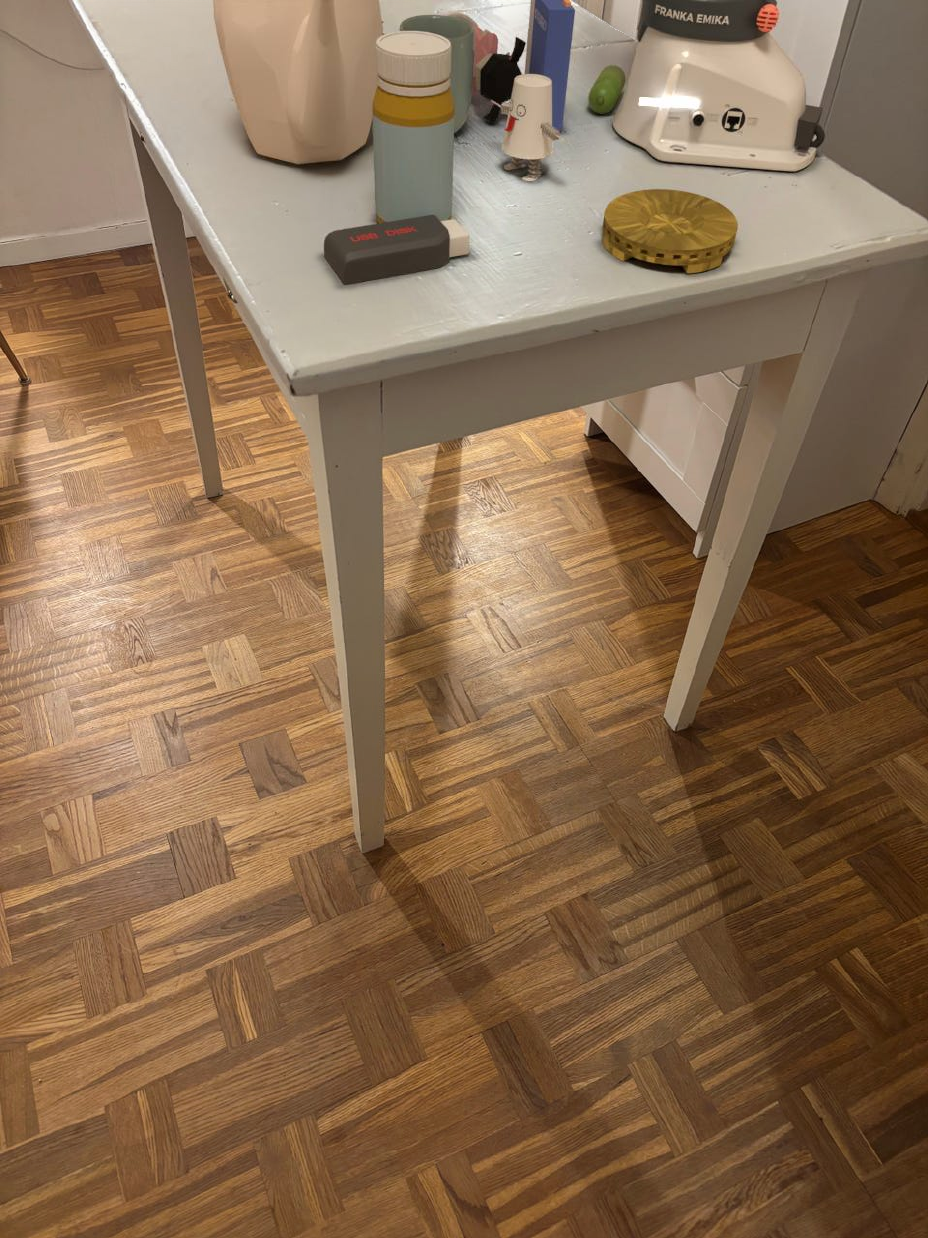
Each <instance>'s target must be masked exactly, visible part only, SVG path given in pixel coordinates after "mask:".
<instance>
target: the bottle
mask: <svg viewBox="0 0 928 1238" xmlns="http://www.w3.org/2000/svg"><path fill="white" fill-rule="evenodd" d="M384 34H385V35H382V36H380V37H379V38H378V39H377V41H376V70H377V85H378V86H377V89H376V93H375V96H374V99H373V110H372V115H373V118H372V141H373V142H372V143H373V144H372V145H373V173H374V174H373V176H374V205H375V207H374V209H375V219H376V221H377V224H379V223H385V222H391V221H397V220H403V219H409V218H415V217H422V216H428V215H435V216H436V217H437V218H438V219H439V220H440V221H446V220H452V212H453V183H454V181H453V180H454V149H455V147H454V146H455V133H454V119H455V111H454V106H455V105H454V101H453V97H452V94H451V90H450V87H449V86H450V72H451V43H450V41H449V40H448V39H446V38H445V37H443V36H440V35H437V34H434V33H429V32H422V31H399V30H398V31H392V32H387V33H384Z"/></svg>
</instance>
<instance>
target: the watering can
mask: <svg viewBox="0 0 928 1238" xmlns="http://www.w3.org/2000/svg"><path fill="white" fill-rule="evenodd" d="M212 5H213V19H214V24H215V29H216V35H217V41H218V45H219V50H220V53H221V57H222V60H223V61H222V62H223V65H224V69H225V73H226V76H227V80H228V84H229V87H230V90H231V94H232V98H233V99H234V102H235V104H236V108H237V110H238V113H239V115H240V118H241V122H242V124H243V127H244V129H245V132H246V134H247V136H248V139H249V141H250V143H251V144H252V147H253V149H254V150H255V152H256V153H257V154H258V155H261V156H263V157H267V158H272V159H275V160H276V159H277V160H280V161H284V162H288V163H292V164H295V165H305V164H306V165H307V164H312V163H313V164H315V163H322V162H338V161H342V160H344V159H345V158H347V157H348V156H350V155H351V154H353V153H355V152H356V151H357V150H359V149H360V148H361V147H364V146H365V145H366V143H367V140H368V138H369V134H370V131H371V126H372V123H373V115H372V110H373V99H374V96H375V93H376V89H377V86H378V85H377V70H376V41H377V39H378V38H379V37H380V36H382V34H383V33H384V25H383V23H382V21H383V19H382V13H381V6H380V0H212Z"/></svg>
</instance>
